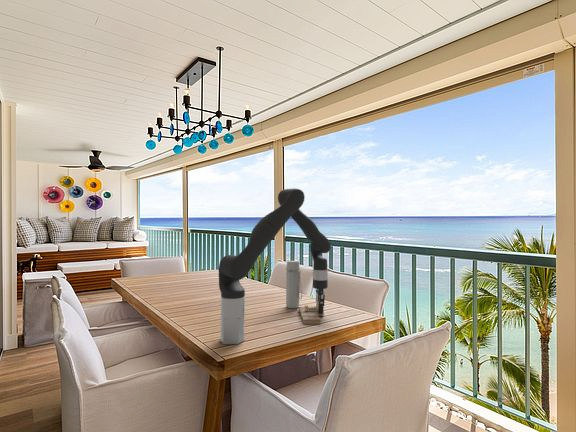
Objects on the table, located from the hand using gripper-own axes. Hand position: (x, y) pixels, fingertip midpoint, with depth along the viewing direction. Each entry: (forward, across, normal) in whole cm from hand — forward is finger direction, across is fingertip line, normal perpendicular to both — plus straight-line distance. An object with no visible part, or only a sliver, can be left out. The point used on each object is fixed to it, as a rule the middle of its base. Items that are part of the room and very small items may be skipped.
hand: (319, 312), depth 164 cm
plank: (+1, -4, +6) cm, 7 cm away
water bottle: (+1, +14, +12) cm, 18 cm away
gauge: (+1, 0, +3) cm, 3 cm away
